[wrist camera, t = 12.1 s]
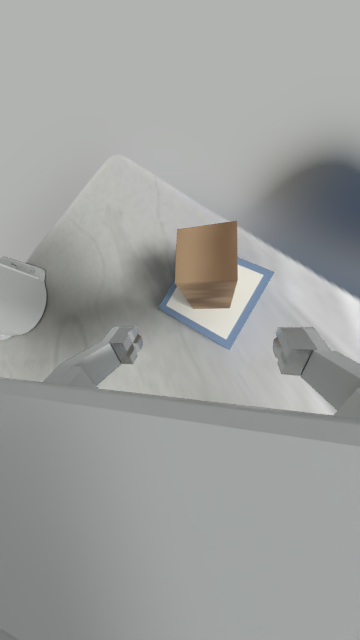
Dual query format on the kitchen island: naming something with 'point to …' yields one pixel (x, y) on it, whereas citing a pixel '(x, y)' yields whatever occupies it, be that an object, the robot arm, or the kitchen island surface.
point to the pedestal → (221, 321)
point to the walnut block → (207, 264)
